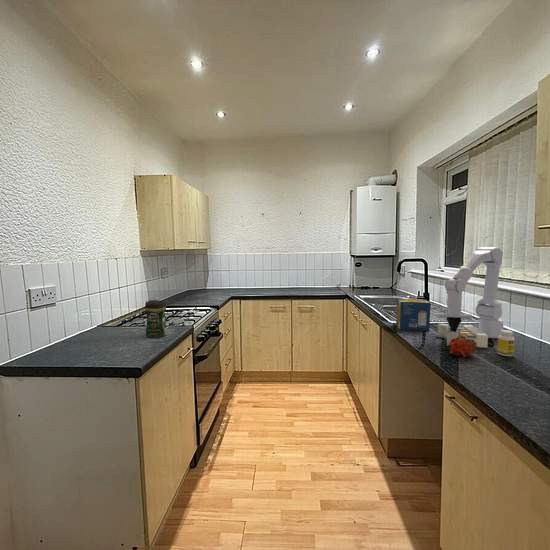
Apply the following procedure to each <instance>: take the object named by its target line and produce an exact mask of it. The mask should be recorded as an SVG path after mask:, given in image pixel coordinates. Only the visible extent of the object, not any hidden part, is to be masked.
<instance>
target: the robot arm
mask: <svg viewBox="0 0 550 550" xmlns="http://www.w3.org/2000/svg"><path fill="white" fill-rule="evenodd" d="M503 254H504V251H503V250H502V249H501V248H500V247H498V246H496V247H495V246H494V247H491V246H490V247H483V246H481V247H480V246H479V247H477V248H476V249H475V250H474V251H473V256H472V258H471V259H470V260H469V262H468V263H467V265H466V266H465V267H461V268H460V269H459V270H458V271H457V272H456V273H455V274H454V276H453V277H452V278H449V279H447V280H446V282H445V284H444V288H445V290H446V294H447V301H446V303H447V307H446V308H447V309H446V312H436V314H435V315H436V316H435V317H436V318H437V319H441V318H442V319H444V318H445V319H446V321H447V323H448V327H449V328H450V331H452V332H457V331H458V330H457V328H459V325H460V324H461V322H462V319H466V320H473V314H471V313H462V305H463V304H462V303H463V302H462V301H463V292H464V291H465V290H466V287H467V284H468V282H469V281H470V279H472V278H473V276H474V273H473V272H474V271H475V270H476V269H477V268H478V267H479V266H480V265H481V264H482V265H485V267H486V272H485V278H484V289H483V295H482V296H483V297H482V298H481V299H479V300H477V304H476V307H475V314H476V315H477V318H479V319H478V320H479V321H478V322H479V323H478V329H479V330H480V331H482V332H483V333H485V334H487V335H488V339H498V336H499V335H501V330H504V321H503V320H502V319H501V317H502V316H503V310H502V307H503V306H502V303H500V302H499V301H498V300H497V295H498V287H499V286H498V285H499V279H500V271H501V270H500V269H501V265H502V264H503V263H502V262H503V256H504V255H503Z"/></svg>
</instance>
